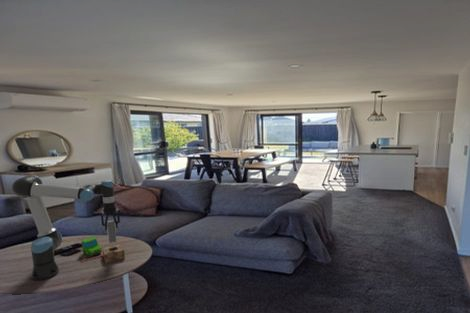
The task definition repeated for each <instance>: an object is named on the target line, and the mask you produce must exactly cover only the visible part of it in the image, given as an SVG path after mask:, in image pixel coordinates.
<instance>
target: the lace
mask: <svg viewBox="0 0 470 313" xmlns="http://www.w3.org/2000/svg"><path fill="white" fill-rule="evenodd" d="M102 257H103V254H101V255H98V256H94V257H90V258H88V259H87V257H85V258H84V259H82V260H81V261H80V263H83V262H88V261H91V260H96V259H98V258H102Z"/></svg>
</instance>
